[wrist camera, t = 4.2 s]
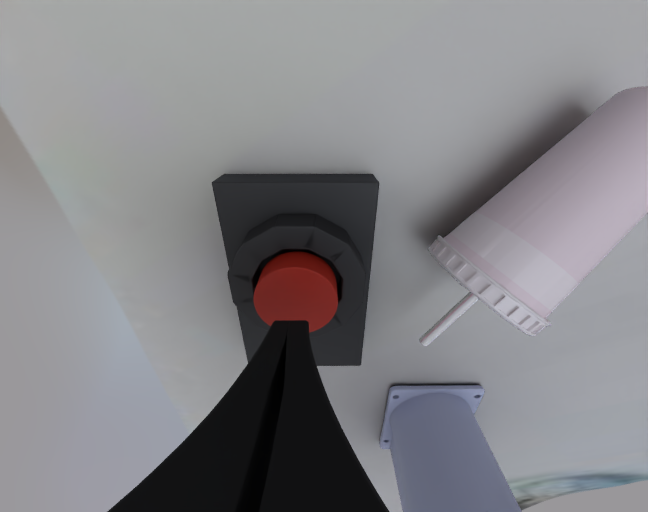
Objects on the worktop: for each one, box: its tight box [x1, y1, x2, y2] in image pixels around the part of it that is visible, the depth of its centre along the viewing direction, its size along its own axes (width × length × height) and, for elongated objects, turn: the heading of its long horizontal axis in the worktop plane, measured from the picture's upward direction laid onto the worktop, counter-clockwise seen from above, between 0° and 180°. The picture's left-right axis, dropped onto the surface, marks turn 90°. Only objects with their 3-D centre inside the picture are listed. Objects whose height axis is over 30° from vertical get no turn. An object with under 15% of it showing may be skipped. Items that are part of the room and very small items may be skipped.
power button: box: [253, 251, 338, 332], centre depth 13 cm, size 4×4×2 cm
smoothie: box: [419, 87, 648, 347], centre depth 13 cm, size 6×6×14 cm
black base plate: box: [212, 174, 379, 366], centre depth 16 cm, size 13×8×4 cm, turn 0°
